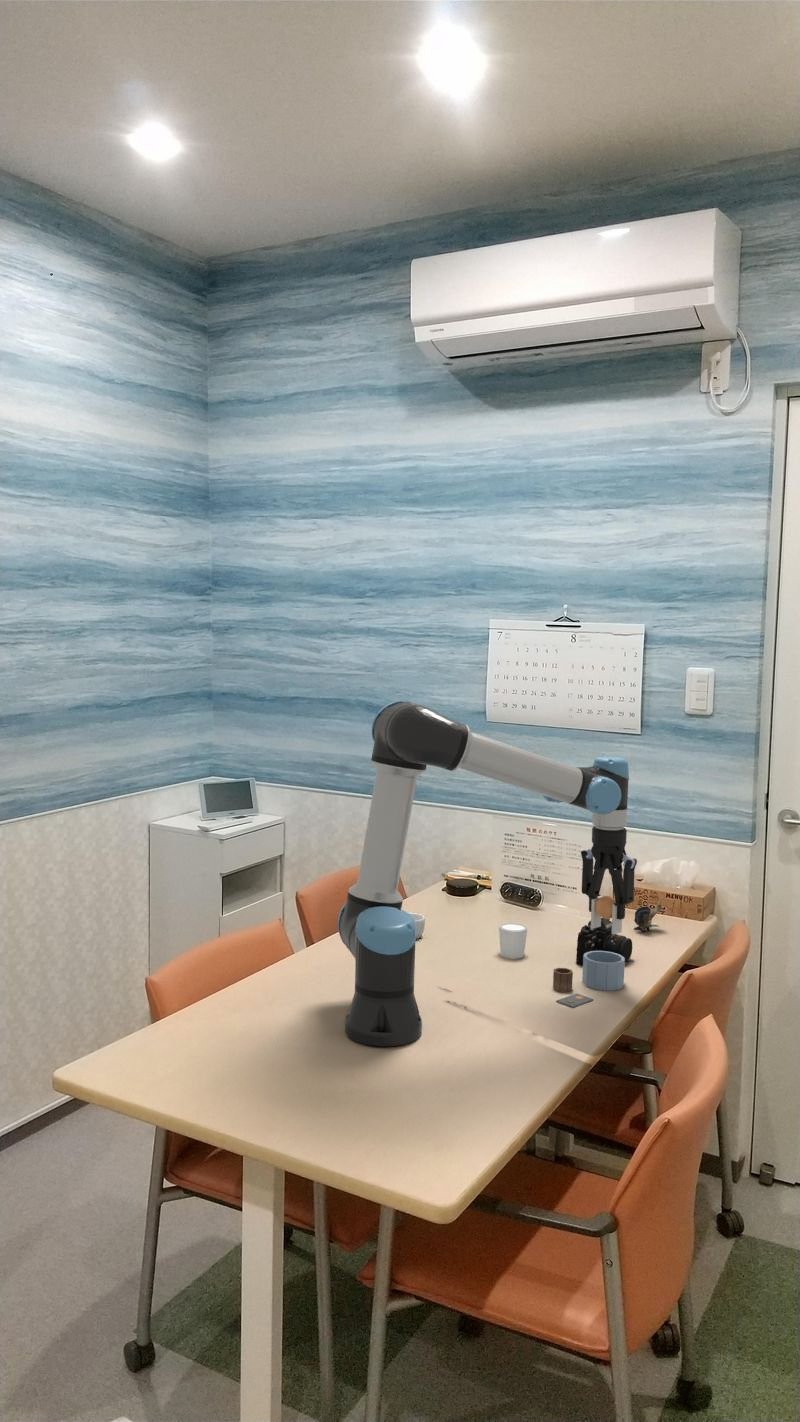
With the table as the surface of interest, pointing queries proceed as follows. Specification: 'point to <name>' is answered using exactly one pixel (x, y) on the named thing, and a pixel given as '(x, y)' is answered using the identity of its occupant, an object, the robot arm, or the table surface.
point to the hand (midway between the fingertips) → (606, 929)
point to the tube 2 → (603, 970)
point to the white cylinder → (512, 940)
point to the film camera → (602, 941)
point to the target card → (574, 1000)
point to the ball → (605, 907)
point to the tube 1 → (562, 979)
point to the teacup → (418, 923)
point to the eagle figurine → (646, 917)
